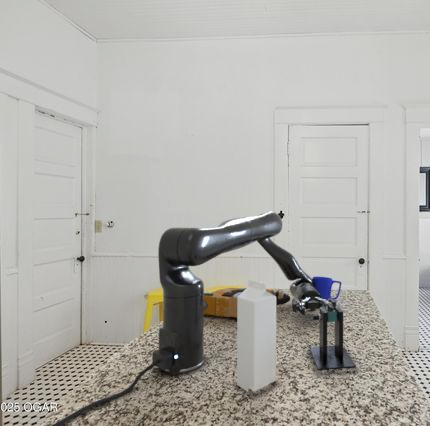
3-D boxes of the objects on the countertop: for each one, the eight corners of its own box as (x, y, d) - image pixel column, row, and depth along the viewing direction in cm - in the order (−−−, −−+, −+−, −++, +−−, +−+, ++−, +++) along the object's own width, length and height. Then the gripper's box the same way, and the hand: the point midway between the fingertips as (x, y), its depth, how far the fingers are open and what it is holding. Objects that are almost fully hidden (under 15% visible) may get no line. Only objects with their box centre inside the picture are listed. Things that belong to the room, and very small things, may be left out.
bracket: (309, 351, 82) (309, 303, 82) (342, 349, 84) (342, 302, 84) (318, 374, 70) (318, 318, 70) (356, 371, 72) (356, 316, 72)
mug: (340, 306, 124) (342, 280, 125) (310, 303, 124) (312, 278, 125) (338, 302, 132) (340, 278, 133) (310, 299, 132) (312, 275, 133)
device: (228, 280, 132) (293, 286, 123) (228, 300, 132) (293, 307, 123) (193, 293, 111) (269, 300, 101) (193, 316, 111) (268, 326, 101)
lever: (312, 322, 87) (312, 313, 88) (331, 321, 88) (330, 312, 89) (321, 322, 75) (321, 312, 76) (343, 321, 76) (342, 311, 77)
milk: (259, 375, 70) (259, 277, 71) (276, 385, 66) (277, 281, 66) (236, 385, 66) (237, 281, 66) (253, 397, 62) (254, 286, 62)
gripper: (289, 287, 109) (294, 300, 93) (328, 286, 111) (340, 298, 95) (289, 308, 109) (294, 325, 93) (328, 307, 111) (340, 322, 95)
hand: (317, 311), depth 94 cm, fingers open, 8 cm apart
